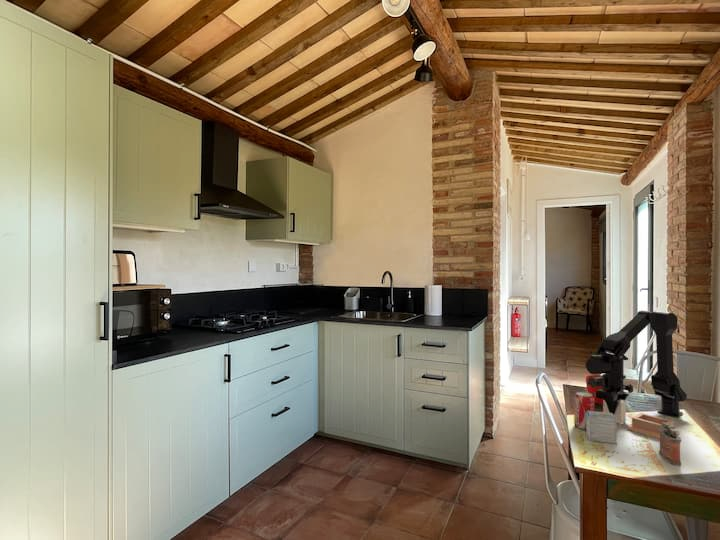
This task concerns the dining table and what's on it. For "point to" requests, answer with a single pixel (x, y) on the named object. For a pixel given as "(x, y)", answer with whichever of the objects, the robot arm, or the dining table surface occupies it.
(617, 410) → the plug
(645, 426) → the dock
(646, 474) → the dining table surface
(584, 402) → the beverage can
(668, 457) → the lighter
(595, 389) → the red bowl
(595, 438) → the medicine box
